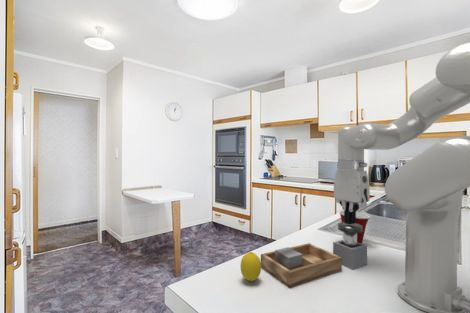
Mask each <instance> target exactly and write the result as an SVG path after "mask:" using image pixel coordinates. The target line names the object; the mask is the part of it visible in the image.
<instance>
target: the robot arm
mask: <svg viewBox="0 0 470 313" xmlns="http://www.w3.org/2000/svg"><path fill="white" fill-rule="evenodd" d="M408 102H409V103H408V104H409V105H410V107H409V109H408V110H407V111H406V112H405V113H404V114H403V115H401V116H399V117H398V118H395V120H393V121H392V122H389V123H388V124H385V123H374V122H365V123H361V124H357V125H355V126H351V125H350V126H343V127H340V128H339V129H338V132H337V133H338V134H337V135H338V136H337V169H336V170H335V175H334V180H333V197H334V201H335V203H337V204H339V205H340V207H341V208H342V211H344V223H346V224H354V223H355V221H356V212H358V210H359V209H364V208H368V203H369V202H370V196H371V192H370V180H369V175H368V172H367V170H365V168H368V163H367V162H365V150H369V151H370V150H371V151H372V150H374V151H375V150H383V151H385V150H386V151H387V150H393V149H396V148H398V147H401V146H403V145H404V144H407V143H409V142H410V141H412V140H414V139H416V138H418V137H419V136H421V135H422V134H424V133H425V132H426V131H427V130H428V129H430V128H431V126H432V125H433V124H434V123H435V122H438V121H439V120H440V119H442V118H444V117H446V116H448V115H450V114H451V113H454V112H455V111H457V110H459V109H460V108H462V107H465V106H467V105H468V104H470V41H468V42H465V43H461V44H459V45H457V46H455V47H453V48H451V49H450V50H448V51H447V52H446V53H444V54H443V55H442V57H441V58H440V59H439V60H438V62H437V65H436V68H435V77H434V78H432V79H431V80H430V81H428V82H427V83H425V84H424V85H422V86H421V87H418V89H416V90H415V91H413V92H412V93H411V94H410V96H409V100H408ZM385 181H386V182H385V185H384V193H385V195H386V198H387V199H388V201H389V203H391V204H392V205H394V206H395V207H397V208H398V209H401V210H404V211H407V214H406V220H405V261H404V262H405V263H404V267H405V268H404V271H405V272H404V274H405V275H404V282H401V283H399V284H398V285H397V294H398V295H399V296H400V297H401V299H402V300H403V301H405V302H406V303H408V304H409V305H411V306H413V307H415V308H416V309H419V310H421V311H424V312H426V313H467V312H468V313H470V298H468V297H466V296H465V295H464V294H463V288H462V287H460V286H458V241H459V219H460V213H461V206H462V203H463V202H462V201H463V195H464V194H463V193H464V192H463V191H464V190H465V189H467V188H470V135H457V136H456V135H455V136H451V137H447V138H445V139H443V140H440V141H438V142H436V143H435V144H433V145H431V146H429V147H427V148H426V149H425V150H424V151H422V152H420V153H419V154H417V155H416V156H414V157H412V158H411V159H409V160H408V161H407V162H405V163H404V164H402V165H401V166H399V167H398V168H397V169H395V170H394V171H393V172H391V173H390V175H388V177H387V179H386V180H385Z"/></svg>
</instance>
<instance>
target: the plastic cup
mask: <svg viewBox="0 0 470 313" xmlns="http://www.w3.org/2000/svg"><path fill="white" fill-rule="evenodd" d="M338 213H339V215H340V220H341V221H340V222H344V210H339V211H338ZM369 219H371V216H370V215H368V214H366V213H363V212H358V211H356V221H355V223H356V224H359V225H361V226H362V233H357V242H358V243H361V244H363V240H364V237H365V233H366V228H367V225H368V221H369Z"/></svg>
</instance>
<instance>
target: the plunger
mask: <svg viewBox="0 0 470 313" xmlns="http://www.w3.org/2000/svg"><path fill="white" fill-rule="evenodd" d="M337 229H338V231H340V232H342V240H343V245H345V246H348V247H350V248H354V247H357V233H362V226H361V225H359V224H356V223H354V224H346V223H344V222H342V221H340V222H338V224H337Z"/></svg>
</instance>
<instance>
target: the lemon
mask: <svg viewBox="0 0 470 313" xmlns="http://www.w3.org/2000/svg"><path fill="white" fill-rule="evenodd" d="M261 271H262V268H261V258H260V257H259V256H258V255H257V254H256V253H255V252H253V251H249V252H247V253H245V254H244V255H243V256H242V258H241V261H240V273H241V275H242V277H243V278H244V279H245V280H247V281H249V282H253V281H255V280H256V279H258V278H259V277H260V274H261Z"/></svg>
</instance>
